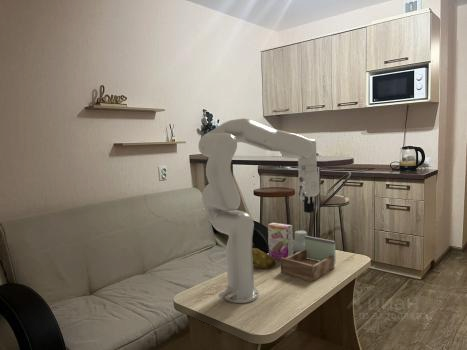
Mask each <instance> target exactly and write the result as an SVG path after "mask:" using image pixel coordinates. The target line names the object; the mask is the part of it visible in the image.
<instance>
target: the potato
mask: <svg viewBox="0 0 467 350" xmlns="http://www.w3.org/2000/svg"><path fill="white" fill-rule="evenodd" d="M252 255H253V266H255V267H256V268H259V269H271V268H273V267H274V266H276V259H274V258H273V257H272V256H270V255H269V253H266V252H265V251H263V250H261V249H259V248H255V247H252Z"/></svg>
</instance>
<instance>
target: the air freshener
mask: <svg viewBox="0 0 467 350" xmlns="http://www.w3.org/2000/svg"><path fill="white" fill-rule="evenodd" d="M305 236H308V233H307V231H306V230H295V232H294V239H293V253H294V252H295V253H297V252H299V251H301V250H304V249H305Z"/></svg>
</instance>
